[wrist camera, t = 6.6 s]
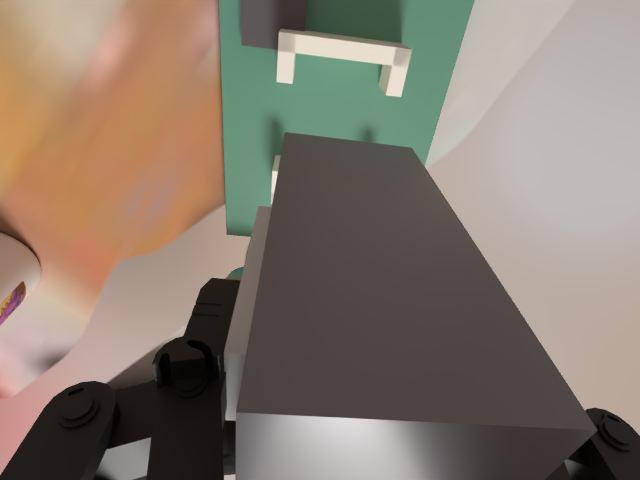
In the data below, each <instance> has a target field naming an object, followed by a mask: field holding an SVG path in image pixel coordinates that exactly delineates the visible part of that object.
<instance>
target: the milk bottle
mask: <svg viewBox="0 0 640 480" xmlns="http://www.w3.org/2000/svg"><path fill="white" fill-rule="evenodd" d="M40 277H41V267H40V263H39V261H38V259H37V258H36V256H35V255H34V254H33V252H32V251H30V250H29V249H28V248H27V247H26V246H25V245H24V244H22V243H21V242H20V241H18V240H16V239H14V238H13V237H11V236H8V235H6V234H4V233H1V232H0V325H1V324H2V323H3V322H4V321H5V320H6V319H7V318H8V316H9V315H10V314H11V313H12V312H13V311H14V310H15V309H16V308H17V307H18V306H19V305H20V303H21V302H22V301H23V300H24V299H25V298H26V297H27V296H28V295H29V294H30V292H31V291H32V290H33V289H34V288H35V287H36V285H37V284H38V283H39V281H40Z"/></svg>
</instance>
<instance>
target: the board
mask: <svg viewBox="0 0 640 480" xmlns="http://www.w3.org/2000/svg"><path fill="white" fill-rule="evenodd" d="M473 3H474V0H219V20H220V49H221V79H222V109H223V138H224V168H225V198H226V226H227V235H238V236H250V237H251V235H252V231H253V227H254V223H255V218H256V214H257V210H258V206H265V207H272V202H273V197H274V191H275V185H276V180H277V174H278V168H279V162H280V157H281V151H282V145H283V139H284V134H285V132H290V133H298V134H306V135H314V136H322V137H330V138H338V139H346V140H354V141H362V142H370V143H378V144H386V145H395V146H403V147H411V148H413V150H414V152H415V153H416V155H417V156H418V158H419V159H420V161H421V162H422V164H423V165H425V162H426V159H427V156H428V152H429V149H430V146H431V142H432V139H433V136H434V132H435V129H436V126H437V122H438V119H439V116H440V113H441V109H442V106H443V103H444V99H445V96H446V93H447V89H448V86H449V83H450V79H451V76H452V73H453V69H454V66H455V63H456V60H457V56H458V53H459V50H460V46H461V43H462V40H463V36H464V33H465V30H466V26H467V23H468V20H469V16H470V13H471V10H472V7H473Z"/></svg>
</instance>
